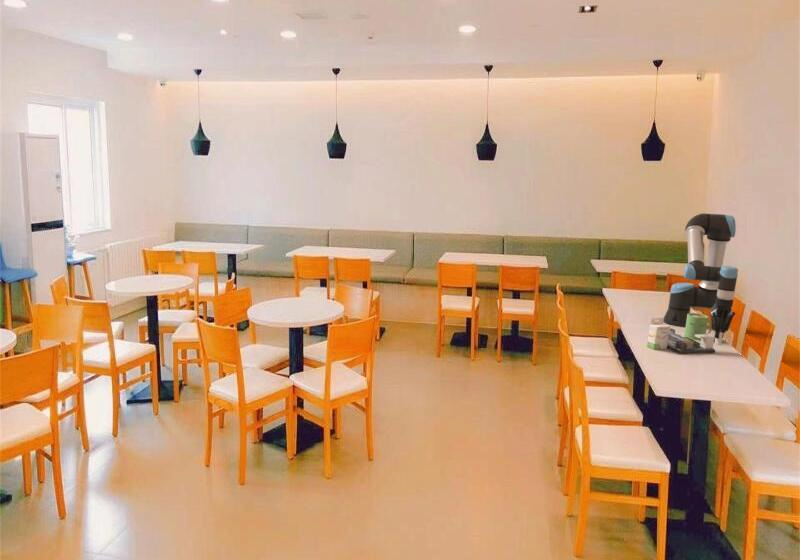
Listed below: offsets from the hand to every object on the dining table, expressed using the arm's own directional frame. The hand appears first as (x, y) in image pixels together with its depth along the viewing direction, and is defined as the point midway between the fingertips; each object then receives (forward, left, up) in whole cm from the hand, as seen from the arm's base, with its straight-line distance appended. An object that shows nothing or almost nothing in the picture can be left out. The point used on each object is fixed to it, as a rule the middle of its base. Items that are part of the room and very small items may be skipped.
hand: (717, 344), depth 308 cm
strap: (+17, -7, +1) cm, 18 cm away
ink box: (+29, -7, -4) cm, 30 cm away
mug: (-5, -22, -4) cm, 22 cm away
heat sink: (+17, -8, -2) cm, 18 cm away
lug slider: (+8, 0, -1) cm, 8 cm away
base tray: (+14, -8, -3) cm, 16 cm away
